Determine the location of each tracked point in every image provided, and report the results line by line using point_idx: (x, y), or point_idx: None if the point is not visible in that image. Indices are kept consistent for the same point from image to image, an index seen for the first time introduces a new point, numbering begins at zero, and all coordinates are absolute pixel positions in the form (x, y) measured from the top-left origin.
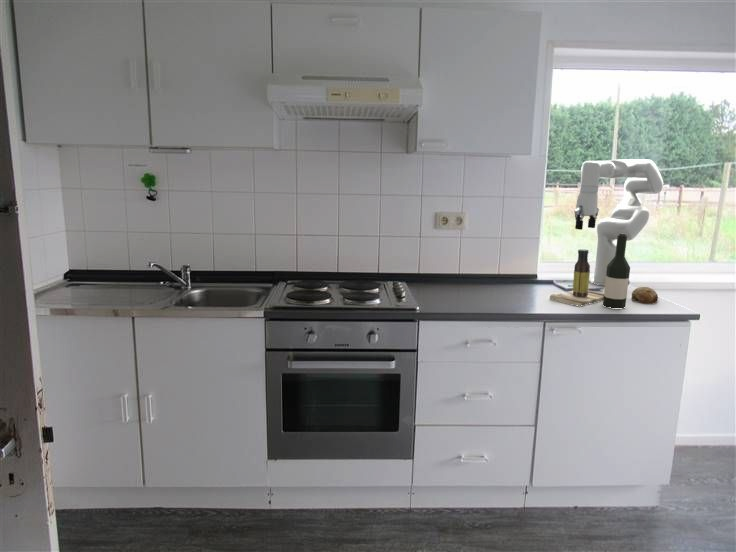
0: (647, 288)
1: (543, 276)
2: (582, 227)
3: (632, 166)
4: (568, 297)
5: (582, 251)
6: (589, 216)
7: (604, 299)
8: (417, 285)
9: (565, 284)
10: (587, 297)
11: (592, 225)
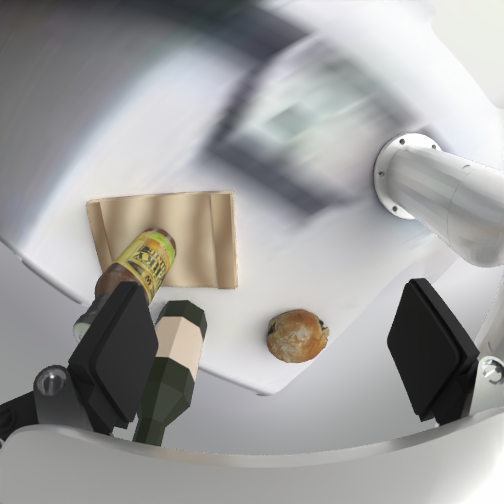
0: (294, 359)
1: None
2: (149, 362)
3: None
4: (115, 240)
5: (79, 341)
6: (467, 403)
7: (161, 315)
8: None
9: (292, 95)
10: None
11: (400, 346)
